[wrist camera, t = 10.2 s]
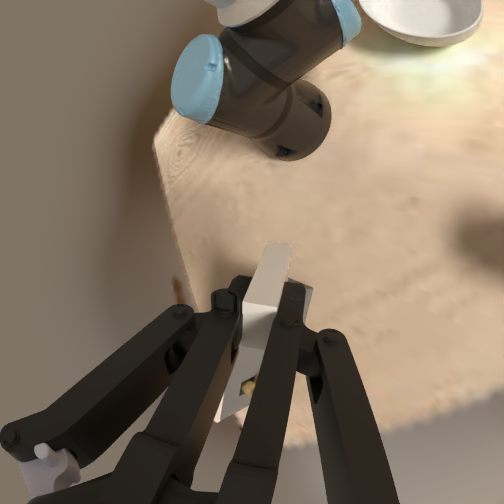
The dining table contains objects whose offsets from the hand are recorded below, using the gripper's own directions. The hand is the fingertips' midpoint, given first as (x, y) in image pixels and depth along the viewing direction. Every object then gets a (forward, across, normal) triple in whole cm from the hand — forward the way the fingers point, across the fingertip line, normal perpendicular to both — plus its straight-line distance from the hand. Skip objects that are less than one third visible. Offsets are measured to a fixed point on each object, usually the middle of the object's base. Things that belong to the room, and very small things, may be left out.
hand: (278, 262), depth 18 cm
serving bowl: (+29, +20, +33) cm, 48 cm away
